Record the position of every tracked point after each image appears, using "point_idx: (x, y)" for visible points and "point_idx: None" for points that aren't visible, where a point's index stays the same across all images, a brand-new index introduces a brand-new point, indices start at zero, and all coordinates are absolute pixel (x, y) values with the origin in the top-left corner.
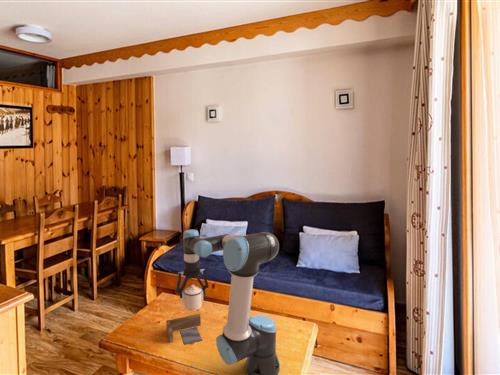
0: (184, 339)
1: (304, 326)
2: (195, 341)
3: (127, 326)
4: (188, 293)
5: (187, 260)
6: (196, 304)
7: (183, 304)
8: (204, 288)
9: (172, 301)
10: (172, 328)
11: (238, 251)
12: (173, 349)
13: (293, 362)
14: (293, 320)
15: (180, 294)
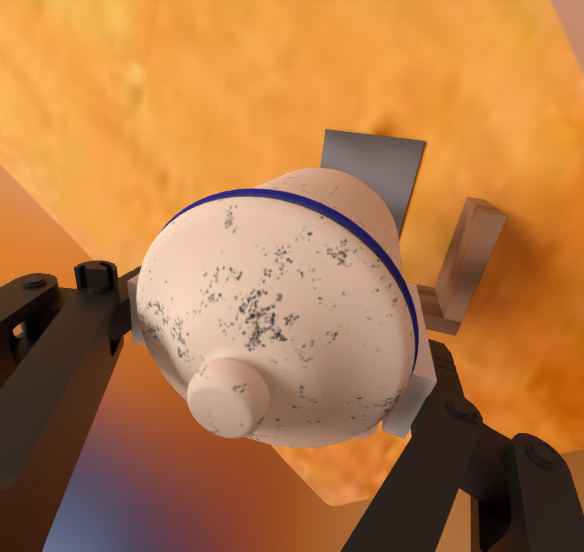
0: (403, 186)
1: None
2: (362, 136)
3: (580, 433)
4: (377, 272)
5: None
6: (296, 175)
7: (407, 284)
8: (89, 284)
9: (326, 459)
10: (422, 292)
11: None
12: (500, 128)
13: None
14: None
15: (451, 382)
